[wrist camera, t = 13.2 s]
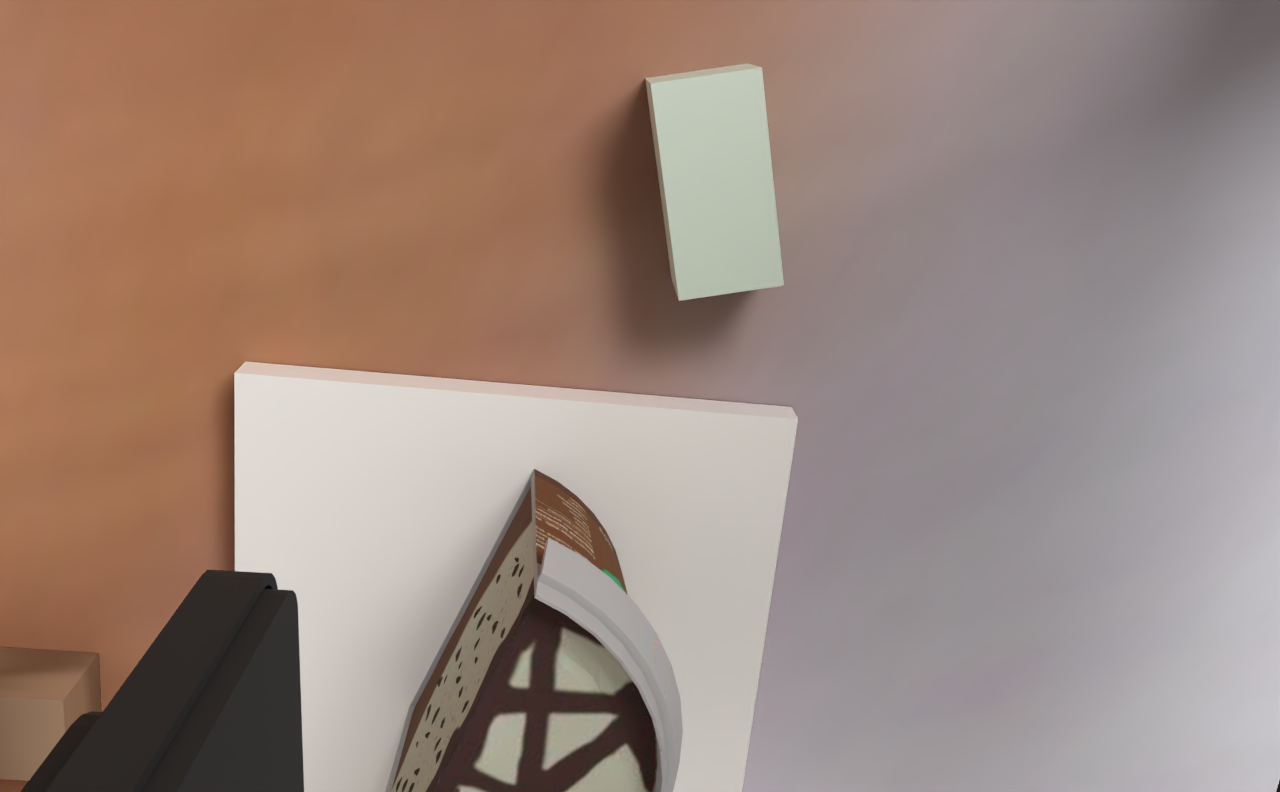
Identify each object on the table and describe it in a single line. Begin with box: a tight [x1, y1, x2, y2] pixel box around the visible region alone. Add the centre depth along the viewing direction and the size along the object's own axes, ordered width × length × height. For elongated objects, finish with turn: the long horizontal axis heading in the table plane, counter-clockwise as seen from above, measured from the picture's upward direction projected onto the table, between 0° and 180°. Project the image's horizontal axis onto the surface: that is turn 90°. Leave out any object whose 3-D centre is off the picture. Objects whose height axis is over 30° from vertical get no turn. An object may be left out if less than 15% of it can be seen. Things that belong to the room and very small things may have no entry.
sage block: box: [645, 63, 784, 301], centre depth 34 cm, size 6×3×3 cm, turn 8°
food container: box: [385, 469, 683, 792], centre depth 33 cm, size 12×6×10 cm, turn 153°
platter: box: [234, 362, 798, 792], centre depth 39 cm, size 17×16×1 cm
